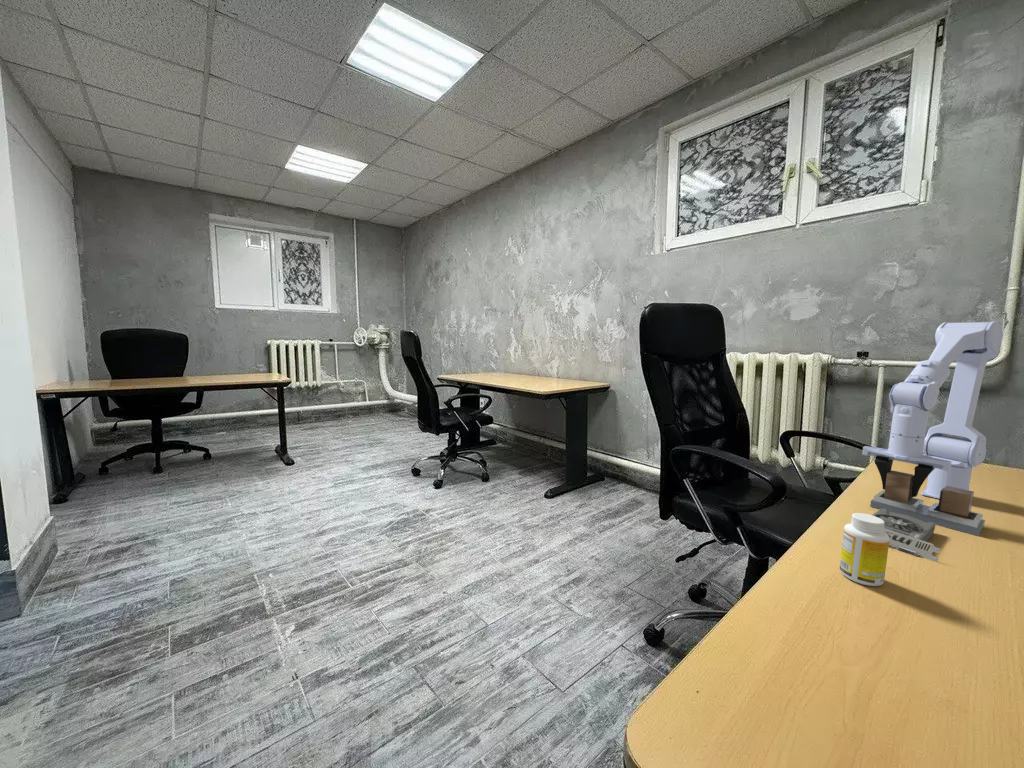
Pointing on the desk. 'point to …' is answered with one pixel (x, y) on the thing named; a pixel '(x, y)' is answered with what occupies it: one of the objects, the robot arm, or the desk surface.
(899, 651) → the desk surface
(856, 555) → the supplement bottle
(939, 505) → the grey block holder
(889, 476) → the walnut block
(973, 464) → the robot arm
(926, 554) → the graphics card
